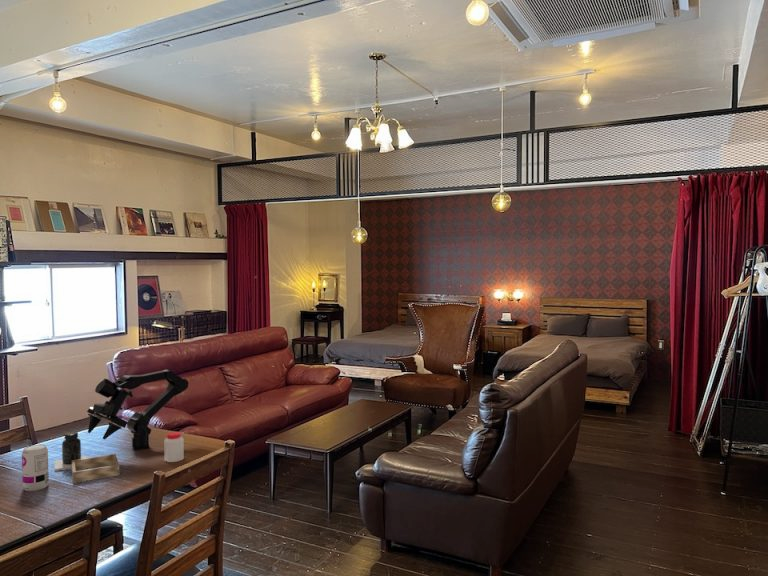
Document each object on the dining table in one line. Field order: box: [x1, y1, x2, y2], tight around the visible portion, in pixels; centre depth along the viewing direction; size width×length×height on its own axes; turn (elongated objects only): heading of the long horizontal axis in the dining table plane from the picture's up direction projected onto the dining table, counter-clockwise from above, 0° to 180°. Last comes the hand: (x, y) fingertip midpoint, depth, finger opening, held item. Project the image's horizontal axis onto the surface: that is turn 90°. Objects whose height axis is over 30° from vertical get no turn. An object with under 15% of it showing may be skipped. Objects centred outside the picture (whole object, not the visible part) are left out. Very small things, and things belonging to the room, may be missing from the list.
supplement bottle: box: [61, 431, 82, 464], centre depth 235 cm, size 7×7×12 cm
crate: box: [71, 453, 121, 484], centre depth 225 cm, size 16×16×4 cm
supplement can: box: [21, 444, 50, 492], centre depth 210 cm, size 8×8×15 cm
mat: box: [54, 455, 88, 472], centre depth 235 cm, size 12×12×1 cm
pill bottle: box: [163, 431, 185, 463], centre depth 241 cm, size 8×8×11 cm
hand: (96, 435), depth 243 cm, fingers open, 9 cm apart
